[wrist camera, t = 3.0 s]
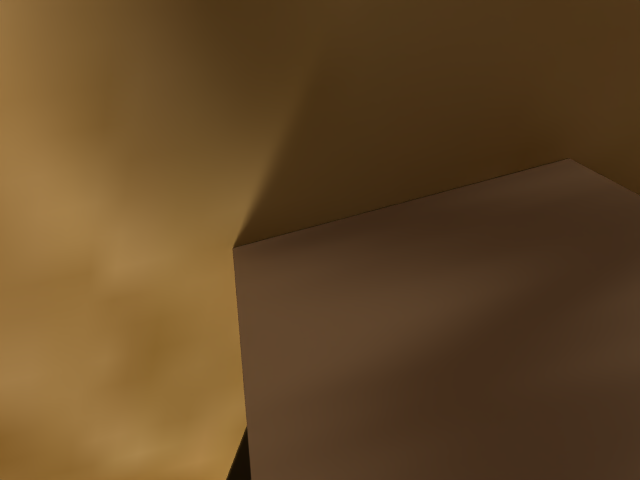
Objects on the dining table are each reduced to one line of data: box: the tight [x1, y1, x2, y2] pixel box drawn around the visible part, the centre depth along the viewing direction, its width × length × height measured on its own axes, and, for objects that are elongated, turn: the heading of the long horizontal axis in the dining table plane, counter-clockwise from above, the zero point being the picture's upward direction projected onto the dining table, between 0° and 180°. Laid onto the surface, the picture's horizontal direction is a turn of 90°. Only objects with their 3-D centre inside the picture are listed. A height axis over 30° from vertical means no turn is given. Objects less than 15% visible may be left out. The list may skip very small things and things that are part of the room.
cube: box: [233, 158, 640, 480], centre depth 7 cm, size 6×6×6 cm
